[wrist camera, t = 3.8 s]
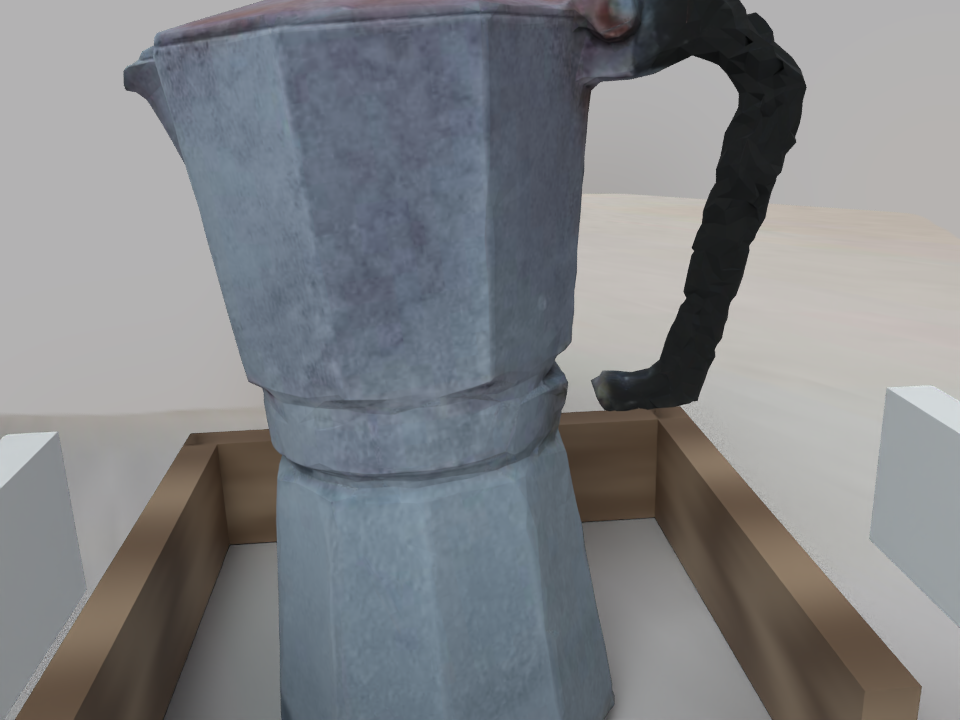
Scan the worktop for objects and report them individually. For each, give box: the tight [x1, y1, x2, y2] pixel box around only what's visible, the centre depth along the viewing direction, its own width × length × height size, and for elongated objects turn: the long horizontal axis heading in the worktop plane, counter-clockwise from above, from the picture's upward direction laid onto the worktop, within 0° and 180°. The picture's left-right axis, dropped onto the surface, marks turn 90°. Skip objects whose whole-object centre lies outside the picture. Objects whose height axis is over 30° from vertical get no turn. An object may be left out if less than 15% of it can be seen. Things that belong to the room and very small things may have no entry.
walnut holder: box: [15, 406, 922, 720], centre depth 26 cm, size 17×18×4 cm
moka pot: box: [124, 0, 806, 720], centre depth 22 cm, size 10×15×20 cm, turn 79°
